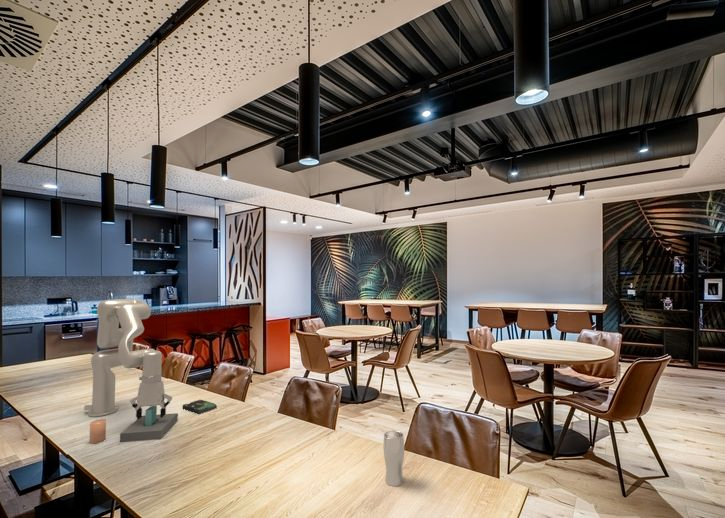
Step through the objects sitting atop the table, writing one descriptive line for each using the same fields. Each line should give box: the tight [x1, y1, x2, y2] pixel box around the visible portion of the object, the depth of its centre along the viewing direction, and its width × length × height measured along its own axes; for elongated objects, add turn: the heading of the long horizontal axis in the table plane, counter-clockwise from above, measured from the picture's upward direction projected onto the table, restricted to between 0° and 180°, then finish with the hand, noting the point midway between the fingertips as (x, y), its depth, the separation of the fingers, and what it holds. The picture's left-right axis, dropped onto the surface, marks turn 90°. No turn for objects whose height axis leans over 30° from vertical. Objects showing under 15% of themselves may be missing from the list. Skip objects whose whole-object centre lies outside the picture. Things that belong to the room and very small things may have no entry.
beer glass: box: [382, 430, 405, 487], centre depth 118 cm, size 7×7×15 cm
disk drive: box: [182, 399, 217, 415], centre depth 187 cm, size 10×3×15 cm
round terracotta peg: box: [89, 418, 107, 445], centre depth 150 cm, size 6×6×8 cm
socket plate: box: [119, 412, 179, 443], centre depth 160 cm, size 16×20×4 cm
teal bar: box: [144, 405, 158, 426], centre depth 160 cm, size 2×6×10 cm, turn 9°
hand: (151, 417), depth 160 cm, fingers open, 9 cm apart
